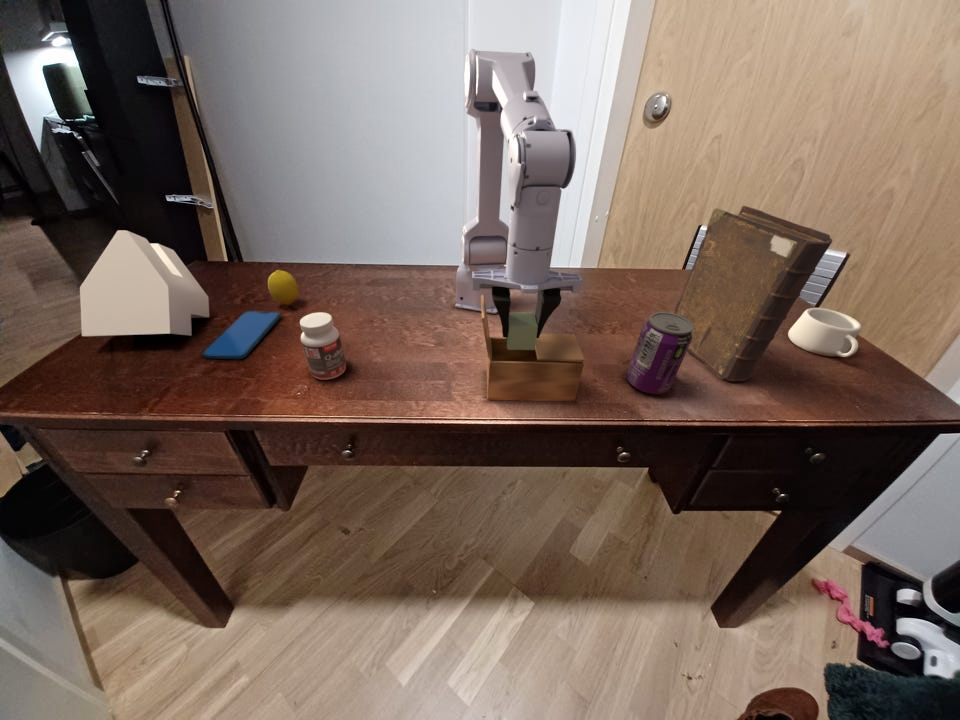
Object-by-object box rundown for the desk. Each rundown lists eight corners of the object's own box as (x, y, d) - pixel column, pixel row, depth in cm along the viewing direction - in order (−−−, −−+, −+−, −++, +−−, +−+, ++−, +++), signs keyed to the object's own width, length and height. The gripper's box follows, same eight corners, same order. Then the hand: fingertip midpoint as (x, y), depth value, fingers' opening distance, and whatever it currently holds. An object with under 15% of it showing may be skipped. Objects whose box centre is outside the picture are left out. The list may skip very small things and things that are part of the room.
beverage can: (673, 400, 58) (702, 337, 51) (627, 393, 59) (650, 331, 52) (664, 373, 64) (690, 313, 57) (622, 367, 65) (642, 307, 58)
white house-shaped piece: (210, 337, 75) (206, 249, 75) (170, 333, 63) (165, 230, 63) (135, 340, 73) (132, 250, 73) (81, 336, 62) (77, 230, 62)
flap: (491, 358, 52) (488, 358, 52) (489, 333, 58) (487, 333, 58) (484, 317, 48) (481, 318, 48) (483, 294, 54) (481, 295, 54)
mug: (775, 331, 77) (790, 305, 73) (819, 331, 77) (836, 306, 74) (819, 365, 67) (839, 338, 64) (869, 366, 68) (892, 339, 64)
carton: (487, 400, 57) (489, 357, 52) (486, 372, 63) (488, 332, 58) (574, 401, 58) (585, 359, 53) (566, 374, 63) (575, 334, 58)
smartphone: (199, 354, 63) (245, 310, 75) (202, 359, 63) (247, 314, 75) (242, 356, 63) (281, 312, 75) (244, 360, 63) (283, 316, 75)
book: (753, 383, 63) (844, 237, 48) (716, 386, 62) (797, 238, 47) (693, 331, 76) (750, 204, 61) (662, 333, 75) (711, 205, 60)
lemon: (268, 307, 78) (256, 272, 74) (288, 297, 83) (278, 263, 78) (288, 313, 77) (277, 277, 72) (308, 302, 81) (298, 267, 76)
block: (507, 349, 53) (509, 326, 51) (505, 334, 56) (507, 312, 54) (534, 350, 53) (537, 326, 51) (531, 335, 56) (534, 312, 54)
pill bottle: (336, 383, 59) (323, 331, 53) (304, 378, 60) (287, 327, 54) (352, 362, 64) (341, 312, 58) (322, 358, 64) (308, 308, 59)
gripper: (472, 252, 42) (470, 348, 51) (596, 256, 43) (574, 350, 51) (473, 233, 48) (471, 322, 56) (582, 236, 48) (564, 324, 57)
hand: (520, 334), depth 54 cm, fingers closed on block, 4 cm apart
